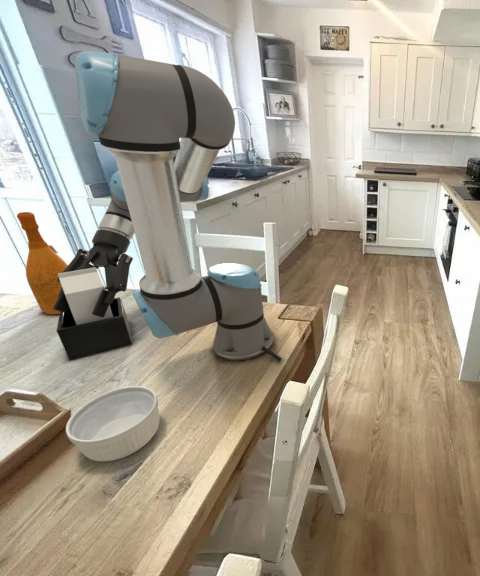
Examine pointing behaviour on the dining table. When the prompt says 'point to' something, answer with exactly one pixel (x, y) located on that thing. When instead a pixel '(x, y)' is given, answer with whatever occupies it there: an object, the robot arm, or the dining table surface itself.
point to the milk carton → (83, 294)
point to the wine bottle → (41, 265)
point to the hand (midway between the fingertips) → (78, 313)
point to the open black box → (94, 332)
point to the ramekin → (115, 423)
